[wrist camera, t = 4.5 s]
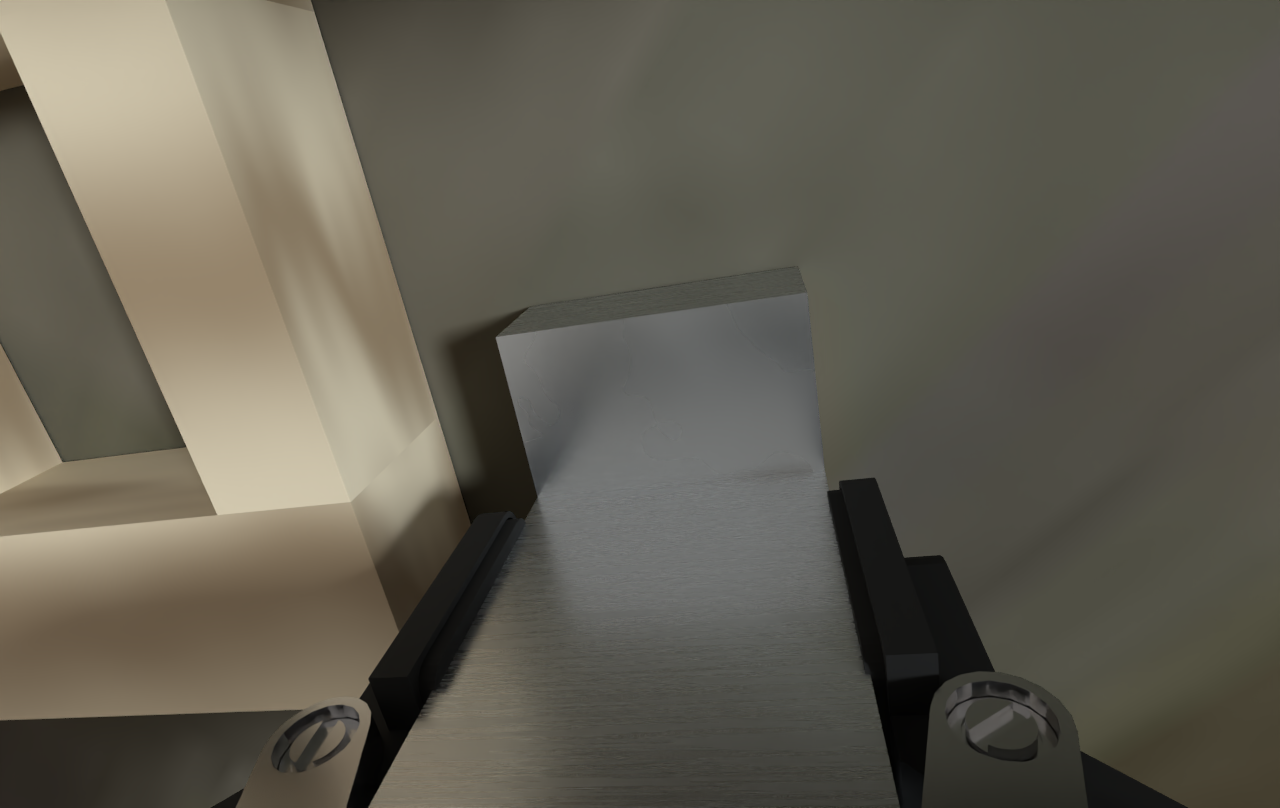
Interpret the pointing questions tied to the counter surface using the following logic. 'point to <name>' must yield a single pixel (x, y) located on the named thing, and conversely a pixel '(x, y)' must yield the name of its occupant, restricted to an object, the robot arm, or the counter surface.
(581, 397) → the bracket
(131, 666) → the block
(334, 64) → the counter surface
